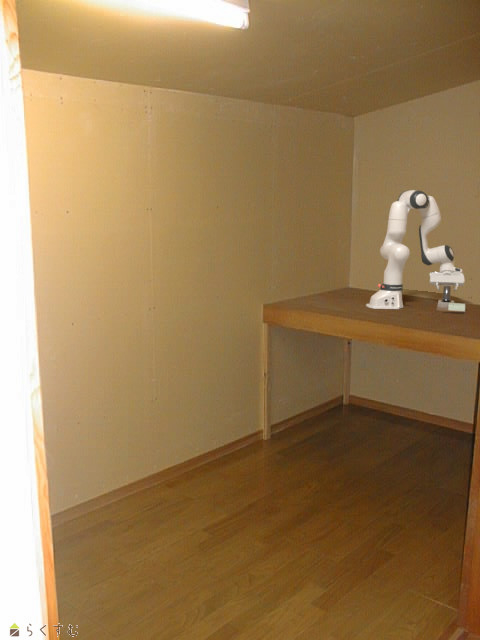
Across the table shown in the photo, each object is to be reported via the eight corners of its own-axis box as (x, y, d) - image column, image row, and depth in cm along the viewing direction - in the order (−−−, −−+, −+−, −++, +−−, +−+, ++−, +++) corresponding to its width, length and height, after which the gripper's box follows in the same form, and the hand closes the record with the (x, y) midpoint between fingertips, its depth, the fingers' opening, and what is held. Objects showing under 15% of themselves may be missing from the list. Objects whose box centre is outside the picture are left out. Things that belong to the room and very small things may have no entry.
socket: (453, 307, 352) (454, 302, 352) (437, 306, 355) (438, 302, 355) (453, 305, 361) (454, 300, 360) (438, 304, 364) (438, 299, 363)
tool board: (465, 314, 340) (465, 311, 340) (436, 312, 345) (436, 309, 345) (464, 308, 360) (464, 305, 360) (437, 306, 366) (437, 304, 365)
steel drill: (444, 306, 356) (445, 287, 354) (441, 305, 360) (442, 286, 357) (450, 306, 356) (452, 286, 354) (447, 305, 360) (448, 286, 358)
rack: (464, 311, 341) (465, 306, 341) (448, 310, 344) (448, 305, 344) (464, 308, 350) (464, 303, 349) (448, 307, 352) (448, 302, 352)
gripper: (429, 268, 366) (429, 286, 359) (464, 269, 360) (465, 287, 353) (429, 274, 371) (428, 292, 364) (463, 276, 366) (463, 293, 358)
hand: (446, 290), depth 358 cm, fingers open, 8 cm apart
